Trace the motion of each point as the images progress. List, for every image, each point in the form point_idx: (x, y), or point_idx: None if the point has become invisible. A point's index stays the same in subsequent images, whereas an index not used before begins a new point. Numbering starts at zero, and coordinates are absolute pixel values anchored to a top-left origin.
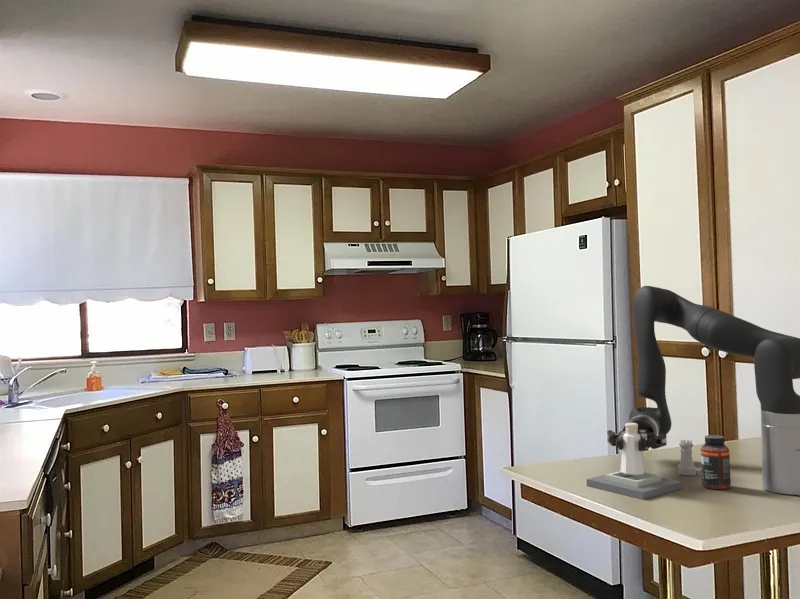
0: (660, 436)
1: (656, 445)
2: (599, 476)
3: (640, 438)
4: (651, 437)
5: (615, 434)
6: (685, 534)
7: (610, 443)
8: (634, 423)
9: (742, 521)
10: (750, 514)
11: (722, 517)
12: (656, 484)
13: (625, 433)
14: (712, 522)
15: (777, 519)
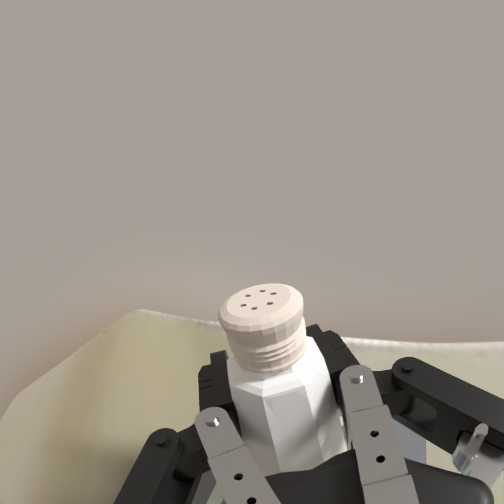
0: (124, 485)
1: (172, 492)
2: (421, 441)
3: (232, 395)
4: (174, 438)
5: (412, 383)
6: (148, 312)
7: (430, 407)
8: (242, 309)
9: (70, 375)
10: (48, 407)
11: (90, 379)
12: (212, 474)
13: (317, 355)
14: (109, 356)
15: (25, 399)
